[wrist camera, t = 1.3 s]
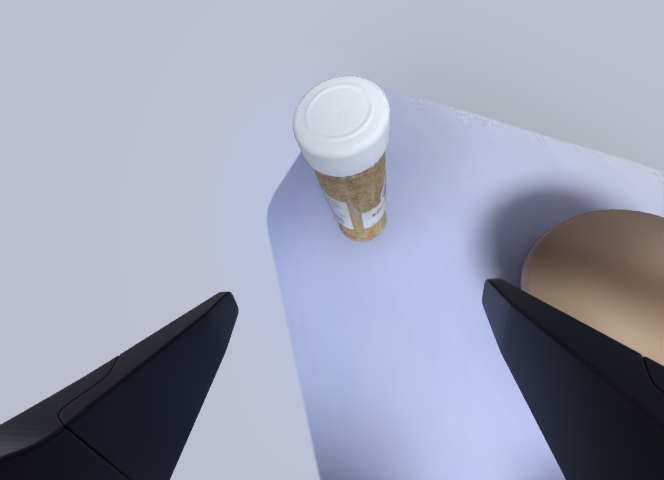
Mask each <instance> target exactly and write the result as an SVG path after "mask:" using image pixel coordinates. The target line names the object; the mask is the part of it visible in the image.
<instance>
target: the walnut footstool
mask: <svg viewBox="0 0 664 480" xmlns="http://www.w3.org/2000/svg"><path fill="white" fill-rule="evenodd" d="M521 290H523V291H525V292H527V293H529V294H531V295H533V296H534V297H536V298H538V299H540V300H542V301H544V302H546V303H547V304H549V305H551V306H553V307H555V308H557V309H559V310H560V311H562V312H564V313H566V314H568V315H570V316H572V317H574V318H575V319H577V320H579V321H581V322H583V323H585V324H587V325H588V326H590V327H592V328H594V329H596V330H598V331H600V332H601V333H603V334H605V335H607V336H609V337H611V338H613V339H614V340H616V341H618V342H620V343H622V344H624V345H626V346H627V347H629V348H631V349H633V350H635V351H637V352H639V353H640V354H642V356H643V357H644V356H645V357H648V358H650V359H652V360H654V361H656V362H657V363H659V364H661V365H663V366H664V218H663V217H660V216H657V215H653V214H649V213H644V212H639V211H631V210H600V211H594V212H589V213H585V214H582V215H579V216H576V217H573V218H571V219H569V220H567V221H565V222H563V223H561V224H559V225H557V226H555V227H553V228H552V229H550V230H549V231H547V232H545V233H544V234H543V235H542V236H541V237H540V238H538V239H537V241H536V242H535V243H534V244H533V245H532V247H531V248H530V250H529V252H528V253H527V255H526V258H525V260H524V263H523V267H522V271H521Z"/></svg>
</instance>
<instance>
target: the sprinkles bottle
mask: <svg viewBox="0 0 664 480" xmlns="http://www.w3.org/2000/svg"><path fill="white" fill-rule="evenodd" d="M293 131H294V135H295V138H296V140H297V142H298V145H299V147H300V149H301V151H302V153H303V156H304V158H305V159H306V161H307V162H308V164H309V165H310V166H311V167H312V168H313V169H314V170H315V173H316V175H317V177H318V179H319V182H320V185H321V188H322V190H323V192H324V194H325V196H326V198H327V200H328V202H329V204H330V206H331V209H332V211H333V213H334V215H335V217H336V219H337V220H338V221H339V225H340V228H341V230H342V232H343V233H344V234H345V235H346V236H347V237H349V238H351V239H353V240H357V241H368V240H371V239H373V238H374V237H376V236H378V235H379V234H380V233H381V231H382V230H383V228H384V226H385V223H386V212H385V207H386V170H385V150H386V148H387V145H388V142H389V135H390V107H389V103H388V99H387V97H386V95H385V94H384V92H383V91H382V90H381V89H380V88H379V87H378V86H377V85H376V84H375V83H373V82H371V81H370V80H367V79H364V78H361V77H355V76H342V77H337V78H333V79H329V80H326V81H325V82H322V83H320V84H318V85H317V86H315V87H314V88H312V89H311V90H310V91H309V92H308V93H307V94H306V95H305V96H304V97H303V98H302V100H301V101H300V102H299V104H298V106H297V108H296V110H295V113H294V117H293Z"/></svg>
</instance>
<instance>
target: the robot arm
mask: <svg viewBox="0 0 664 480" xmlns="http://www.w3.org/2000/svg"><path fill="white" fill-rule="evenodd" d="M482 304H483V307H484V310H485V312H486V315H487V318H488V320H489V323H490V326H491V328H492V331H493V334H494V336H495V339H496V342H497V344H498V347H499V349H500V351H501V353H502V355H503V358H504V359H505V361H506V363H507V365H508V367H509V369H510V371H511V373H512V375H513V377H514V379H515V381H516V383H517V385H518V387H519V389H520V391H521V393H522V395H523V397H524V399H525V401H526V402H527V404H528V406H529V408H530V410H531V412H532V414H533V416H534V418H535V420H536V422H537V424H538V426H539V428H540V430H541V432H542V434H543V436H544V438H545V440H546V442H547V444H548V445H549V447H550V449H551V451H552V453H553V455H554V457H555V459H556V461H557V463H558V465H559V467H560V469H561V471H562V473H563V475H564V477H565V479H566V480H664V366H663V365H661V364H659V363H657V362H656V361H654V360H652V359H650V358H648V357H645V356H644V357H643V356H642V354H640V353H639V352H637V351H635V350H633V349H631V348H629V347H627V346H626V345H624V344H622V343H620V342H618V341H616V340H614V339H613V338H611V337H609V336H607V335H605V334H603V333H601V332H600V331H598V330H596V329H594V328H592V327H590V326H588V325H587V324H585V323H583V322H581V321H579V320H577V319H575V318H574V317H572V316H570V315H568V314H566V313H564V312H562V311H560V310H559V309H557V308H555V307H553V306H551V305H549V304H547V303H546V302H544V301H542V300H540V299H538V298H536V297H534V296H533V295H531V294H529V293H527V292H525V291H523V290H521V289H520V288H518V287H516V286H514V285H512V284H510V283H508V282H507V281H505V280H503V279H500V278H495V279H487V280H486V281H485V283H484V290H483V296H482ZM237 316H238V306H237V304H236V302H235V299H234V297H233V295H232V293H231V292H220V293H218V294H216V295H214V296H213V297H211V298H209V299H208V300H206V301H205V302H203V303H202V304H200V305H198V306H197V307H195V308H194V309H192V310H190V311H189V312H187V313H186V314H184V315H182V316H181V317H179V318H178V319H176V320H174V321H173V322H171V323H170V324H168V325H166V326H165V327H163V328H162V329H160V330H158V331H157V332H155V333H154V334H152V335H150V336H149V337H147V338H146V339H144V340H142V341H141V342H139V343H138V344H136V345H134V346H133V347H131V348H130V349H128V350H127V351H125V352H123V353H122V354H120V356H117V357H115V358H114V359H112V360H110V361H109V362H108V363H106V364H104V365H102V366H101V367H99V368H98V369H96V370H94V371H93V372H91V373H89V374H88V375H86V376H85V377H83V378H81V379H80V380H78V381H76V382H74V383H72V384H71V385H69V386H67V387H66V388H64V389H62V390H60V391H59V392H57V393H55V394H53V395H52V396H50V397H48V398H47V399H45V400H43V401H41V402H39V403H38V404H36V405H34V406H32V407H31V408H29V409H27V410H26V411H24V412H22V413H20V414H19V415H17V416H15V417H13V418H11V419H10V420H8V421H6V422H4V423H3V424H1V425H0V480H170V478H171V476H172V473H173V471H174V469H175V467H176V464H177V462H178V460H179V457H180V455H181V453H182V451H183V448H184V446H185V444H186V441H187V439H188V437H189V435H190V432H191V430H192V428H193V425H194V423H195V421H196V418H197V416H198V414H199V412H200V409H201V407H202V405H203V402H204V400H205V398H206V396H207V393H208V391H209V389H210V386H211V384H212V382H213V379H214V377H215V375H216V372H217V370H218V368H219V366H220V363H221V361H222V359H223V357H224V354H225V352H226V349H227V346H228V343H229V340H230V337H231V334H232V331H233V328H234V325H235V322H236V319H237Z"/></svg>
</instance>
